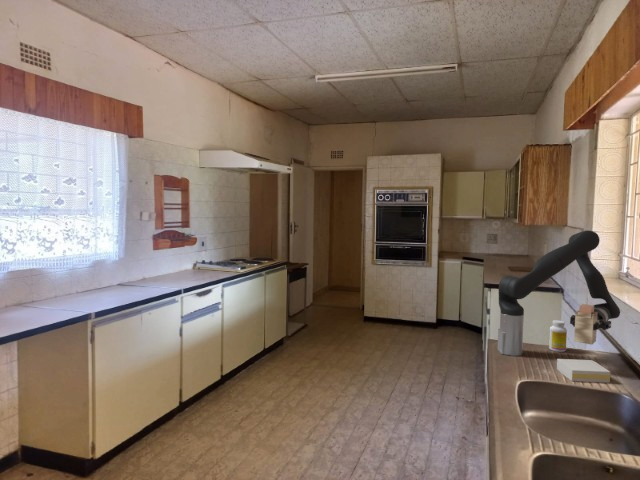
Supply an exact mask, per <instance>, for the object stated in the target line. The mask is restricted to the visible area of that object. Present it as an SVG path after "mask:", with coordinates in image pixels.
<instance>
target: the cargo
mask: <svg viewBox="0 0 640 480" xmlns="http://www.w3.org/2000/svg"><path fill="white" fill-rule="evenodd" d="M578 310H579V312H580V313H586V314H594V306H593V304H592V305H591V304H584V303H582V304H580V305H579V309H578ZM591 317H592V315H591Z"/></svg>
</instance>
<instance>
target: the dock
mask: <svg viewBox="0 0 640 480" xmlns="http://www.w3.org/2000/svg"><path fill="white" fill-rule="evenodd" d="M556 370H558V372H560V373H561V374H562V375H563V376H565V377H566V378H567V379H569V380H570V381H571V382H584V383H585V382H586V383H604V384H605V383H610V382H611V381H610V380H611V371H610V370H608V369H607V368H605V367H604V366H602V365H600V364H599V363H598V362H596V361H594V360H592V359H571V358H570V359H569V358H568V359H566V358H557V359H556Z"/></svg>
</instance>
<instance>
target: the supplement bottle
mask: <svg viewBox="0 0 640 480" xmlns="http://www.w3.org/2000/svg"><path fill="white" fill-rule="evenodd" d="M567 332H568V330H567V328H566V327H565V321H563V320H557V319H554V320H552V325H551V326H550V327H549V338H548V339H549V341H548V349H549V350H550V351H552V352H557V353H564V352H566V351H567V335H568V333H567Z"/></svg>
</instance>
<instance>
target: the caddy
mask: <svg viewBox="0 0 640 480" xmlns="http://www.w3.org/2000/svg"><path fill="white" fill-rule="evenodd" d="M597 313H598V312H594V314H586V313H580V312H579V309H578V310H577V311H575V313H574V315H575V327H574V335H573V342H575V343H576V342H577V343H579V344H581V343H582V344H585V345H586V344H587V345H591V346H592V345H594V343H596V342H597V331H598V330H593V325H594V324H595V323H596V322H597ZM591 315H592V317H591Z"/></svg>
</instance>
